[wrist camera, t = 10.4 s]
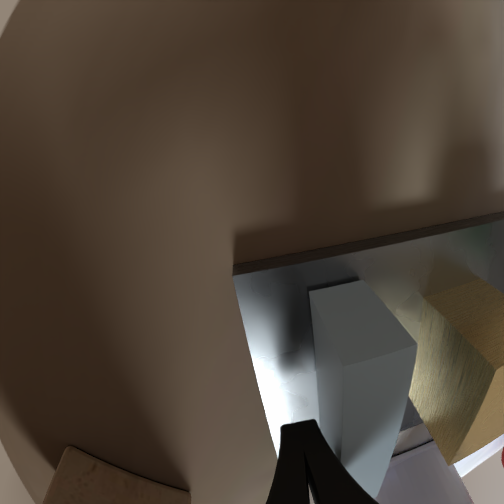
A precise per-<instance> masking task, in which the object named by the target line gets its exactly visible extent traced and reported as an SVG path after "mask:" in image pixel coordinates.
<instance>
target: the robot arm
mask: <svg viewBox="0 0 504 504" xmlns="http://www.w3.org/2000/svg"><path fill="white" fill-rule="evenodd" d="M308 483H309V486H308ZM309 487H310V490H311V493H312V496H313V500H314V503H315V504H474V503H473V501H472V499H471V497H470V495H469V493H468V491H467V489H466V487H465V485H464V483H463V481H462V479H461V478H460V476H459V474H458V472H457V470H456V468H455V466H454V465H453V464H452V465H450V466H448V465H447V463H446V461H445V459H444V457H443V456H442V454H441V452H440V450H439V448H438V447H437V445H436V443H435V441H432V442H430V443H427V444H425V445H423V446H420V447H418V448H416V449H413V450H411V451H408V452H406V453H403V454H400V455H398V456H395V457H392V458H391V460H390V463H389V466H388V469H387V472H386V474H385V477H384V480H383V482H382V485H381V488H380V490H379V493H378V495H377V497H375V498H372V497H371V496H370V495H369V494H368V493H367V492H366V491H365V490H364V489H363V488H362V487H361V486H360V485H359V484H358V483H357V482H356V480H355V479H354V478H353V477H352V476H351V475H350V473H349V472H348V471H347V470H346V469H345V467H344V466H343V465H342V463H341V462H340V461H339V459H338V458H337V457H336V455H335V454H334V452H333V451H332V449H331V448H330V446H329V445H328V443H327V441H326V440H325V438H324V436H323V434H322V432H321V430H320V428H319V426H318V424H317V421H316V420H315V419H309V420H304V421H299V422H294V423H289V424H284V425H282V426H281V427H280V448H279V455H278V461H277V466H276V471H275V475H274V479H273V483H272V486H271V489H270V493H269V496H268V499H267V502H266V504H310V499H309Z"/></svg>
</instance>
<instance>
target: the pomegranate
mask: <svg viewBox="0 0 504 504" xmlns="http://www.w3.org/2000/svg"><path fill="white" fill-rule="evenodd" d="M502 464H503V467H504V447H503V451H502Z"/></svg>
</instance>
